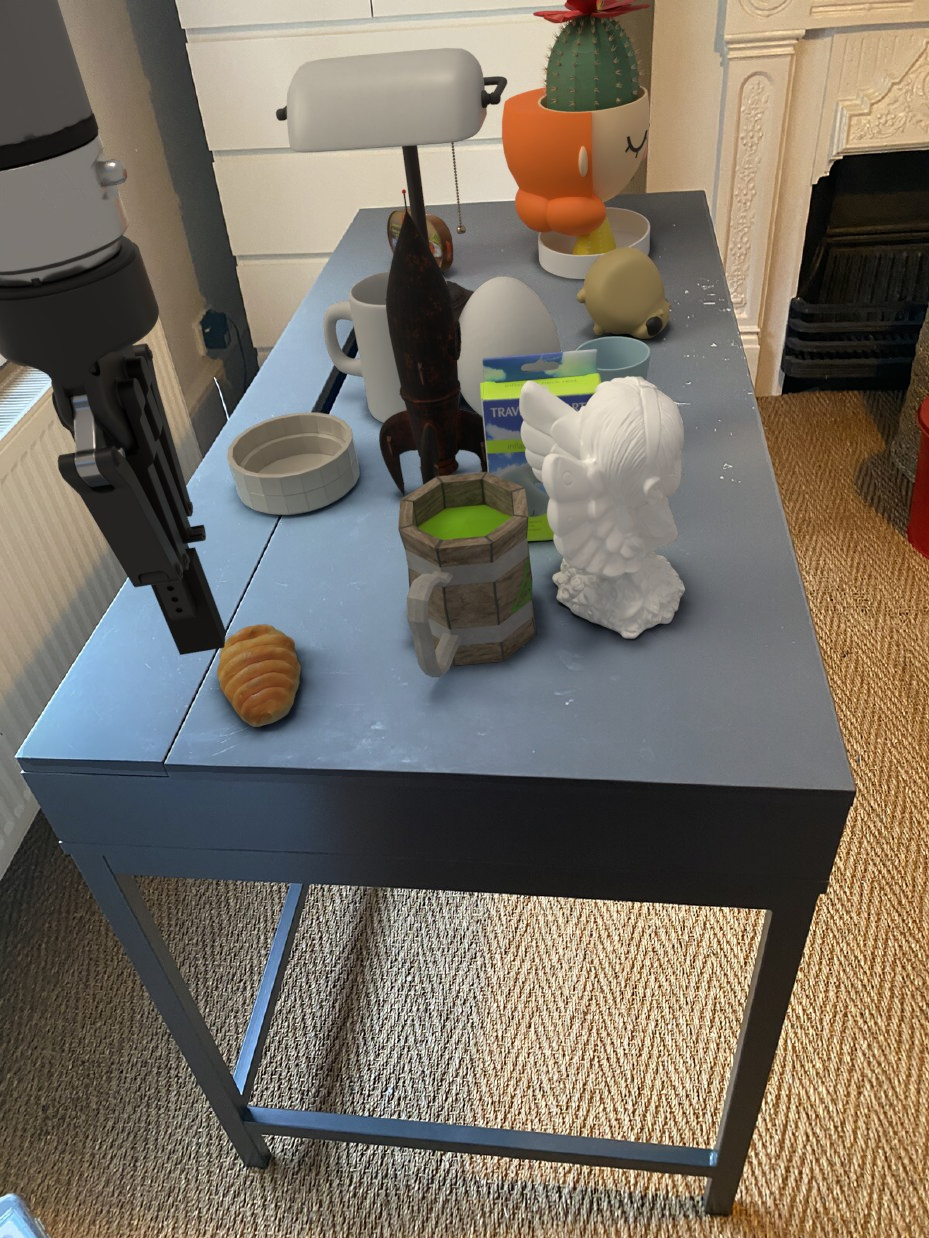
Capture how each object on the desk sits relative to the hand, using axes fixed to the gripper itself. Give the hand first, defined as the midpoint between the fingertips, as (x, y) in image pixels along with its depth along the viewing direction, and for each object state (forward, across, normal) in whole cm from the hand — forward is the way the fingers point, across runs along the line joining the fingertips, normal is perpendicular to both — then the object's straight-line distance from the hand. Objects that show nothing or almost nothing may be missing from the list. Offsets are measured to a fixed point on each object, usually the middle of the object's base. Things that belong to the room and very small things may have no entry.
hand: (203, 643), depth 57 cm
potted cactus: (+17, +100, -45) cm, 111 cm away
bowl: (+16, +44, -2) cm, 47 cm away
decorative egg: (+16, +54, -27) cm, 63 cm away
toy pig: (+17, +70, -45) cm, 84 cm away
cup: (+17, +42, -36) cm, 58 cm away
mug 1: (+16, +59, -14) cm, 63 cm away
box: (+16, +28, -26) cm, 42 cm away
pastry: (+16, +13, 0) cm, 21 cm away
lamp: (+16, +80, -20) cm, 84 cm away
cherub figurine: (+17, +16, -29) cm, 37 cm away
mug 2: (+16, +14, -16) cm, 27 cm away
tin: (+16, +103, -21) cm, 107 cm away
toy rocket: (+16, +37, -17) cm, 44 cm away
